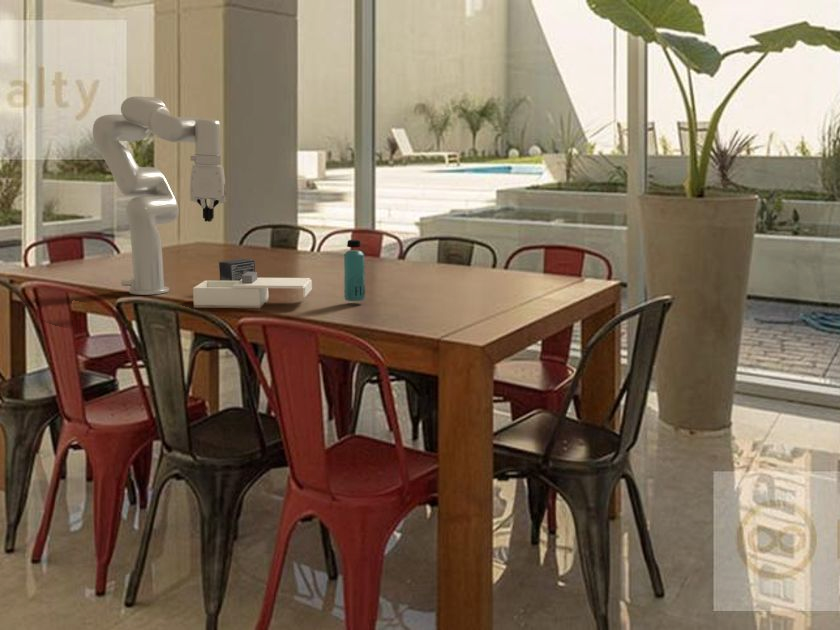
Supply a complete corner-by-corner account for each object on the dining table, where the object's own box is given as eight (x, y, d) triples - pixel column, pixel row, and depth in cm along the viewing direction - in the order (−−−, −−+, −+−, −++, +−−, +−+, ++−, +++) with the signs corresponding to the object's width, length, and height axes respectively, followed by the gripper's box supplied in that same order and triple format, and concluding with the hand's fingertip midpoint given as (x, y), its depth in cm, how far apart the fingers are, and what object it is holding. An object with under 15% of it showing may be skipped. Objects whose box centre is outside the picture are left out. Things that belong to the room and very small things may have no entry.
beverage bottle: (354, 306, 272) (354, 241, 268) (339, 304, 276) (338, 239, 272) (369, 303, 276) (369, 239, 272) (354, 301, 281) (354, 238, 277)
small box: (244, 288, 304) (243, 257, 302) (256, 290, 300) (255, 259, 298) (219, 292, 296) (218, 261, 294) (232, 294, 292) (230, 262, 289)
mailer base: (193, 307, 269) (193, 287, 268) (205, 299, 283) (205, 280, 282) (259, 308, 269) (259, 288, 268) (268, 299, 283) (267, 281, 281)
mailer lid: (233, 296, 268) (232, 277, 267) (244, 288, 283) (243, 269, 281) (304, 297, 267) (304, 277, 266) (311, 288, 282) (311, 270, 281)
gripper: (180, 160, 266) (180, 221, 270) (229, 162, 266) (229, 223, 270) (186, 158, 274) (187, 218, 278) (235, 161, 274) (235, 220, 278)
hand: (208, 220), depth 274 cm, fingers closed
